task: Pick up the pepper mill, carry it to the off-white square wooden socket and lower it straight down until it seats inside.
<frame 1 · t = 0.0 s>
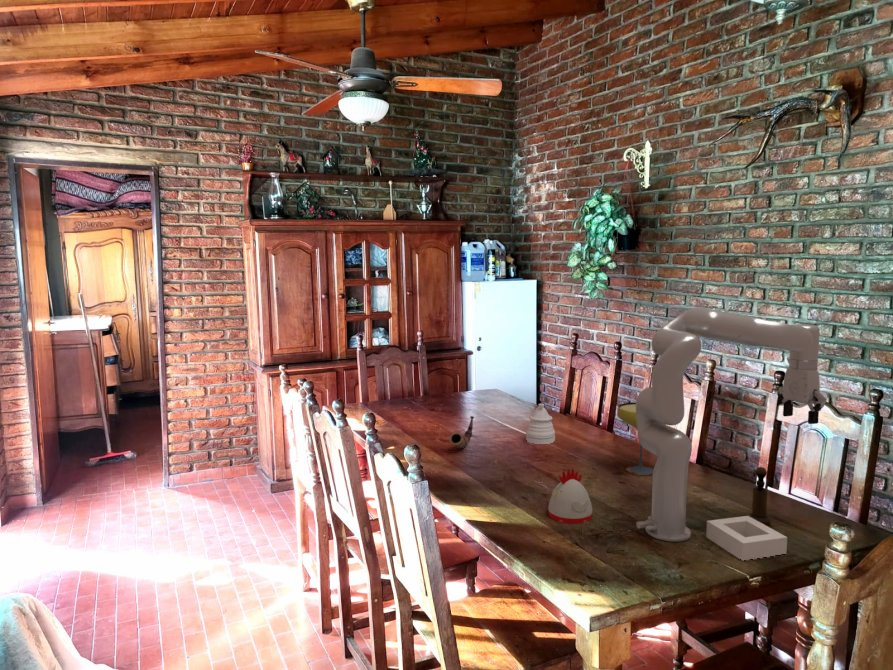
hand: (800, 419, 191), 31 cm above the table, tool pointing down, fingers open, 9 cm apart
cocktail glass: (640, 471, 238), on the table
socket: (744, 545, 175), on the table
pepper mill: (758, 525, 189), on the table
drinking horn: (464, 445, 273), on the table
honey pot: (540, 443, 277), on the table
kitchen timer: (570, 515, 197), on the table
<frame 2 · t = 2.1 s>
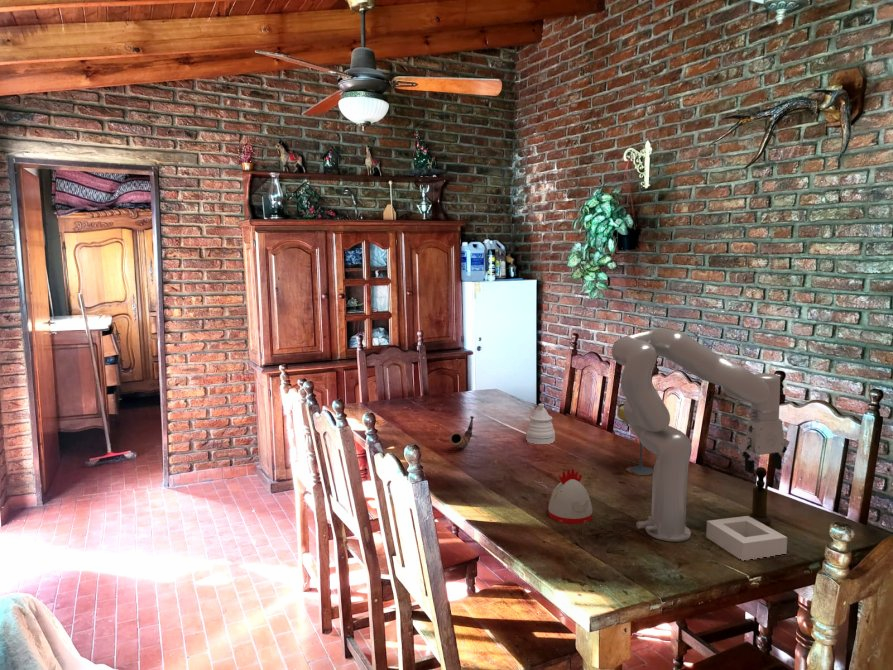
hand: (763, 470, 187), 17 cm above the table, tool pointing down, fingers open, 9 cm apart
nothing on the table moved.
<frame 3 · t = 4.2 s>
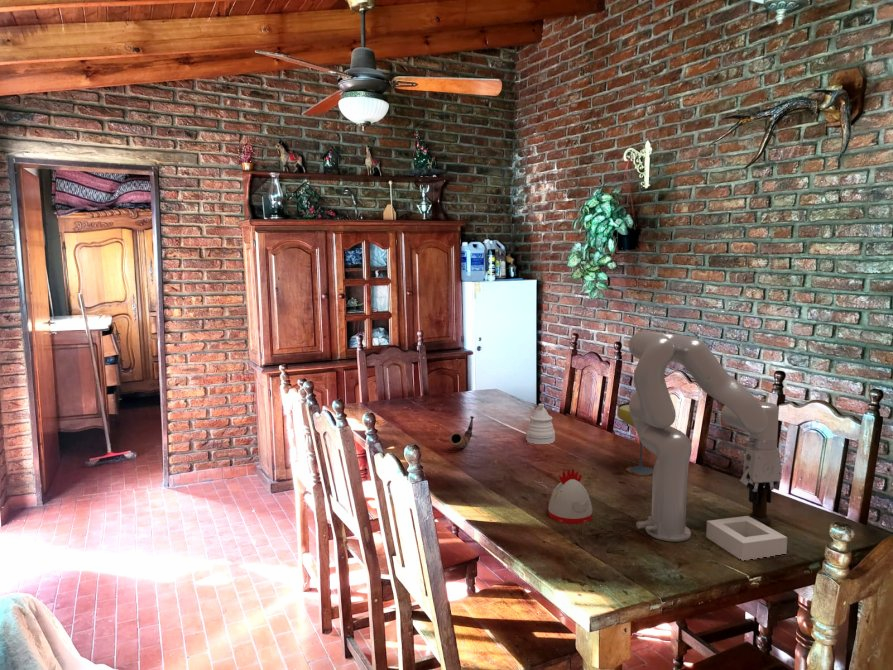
hand: (759, 501, 188), 7 cm above the table, tool pointing down, fingers closed on pepper mill, 3 cm apart
pepper mill: (758, 525, 189), on the table, touching gripper
everything else where it was.
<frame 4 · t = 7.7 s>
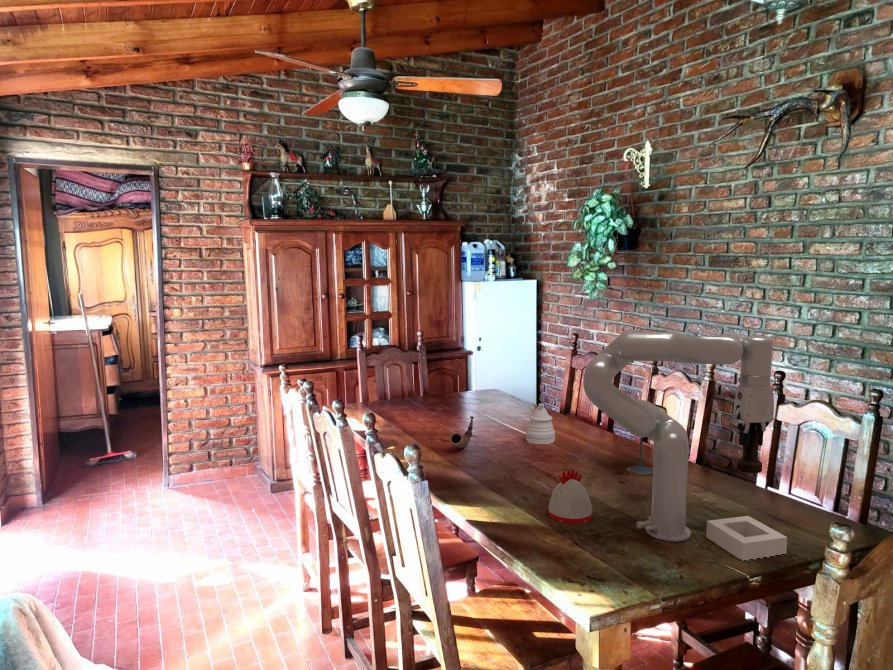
hand: (750, 444, 173), 29 cm above the table, tool pointing down, fingers closed on pepper mill, 3 cm apart
pepper mill: (748, 470, 174), point 21 cm above the table, touching gripper
everything else where it was.
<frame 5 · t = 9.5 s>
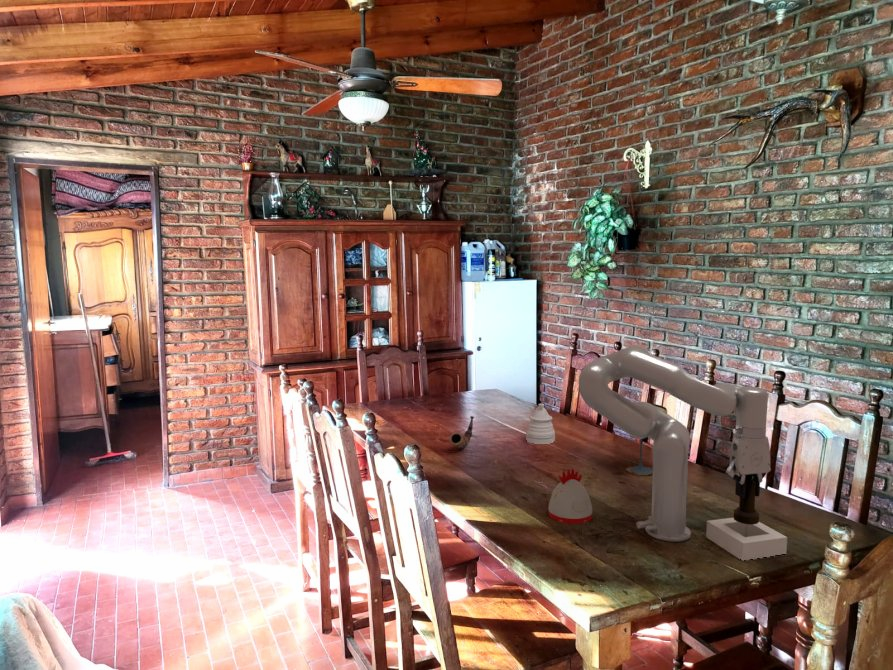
hand: (747, 494, 173), 15 cm above the table, tool pointing down, fingers closed on pepper mill, 3 cm apart
pepper mill: (746, 520, 174), point 7 cm above the table, touching gripper
everything else where it was.
when the fingers open (9 cm above the table, at t = 11.1 s): pepper mill drops 1 cm, resting in socket.
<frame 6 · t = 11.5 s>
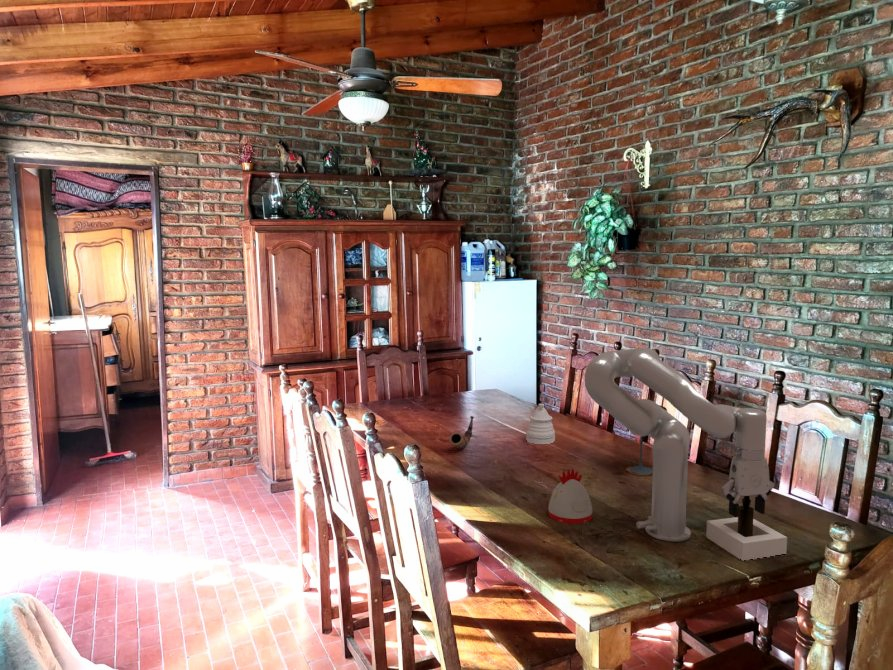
hand: (746, 513, 174), 9 cm above the table, tool pointing down, fingers open, 8 cm apart
pepper mill: (744, 546, 175), resting in socket
everything else where it was.
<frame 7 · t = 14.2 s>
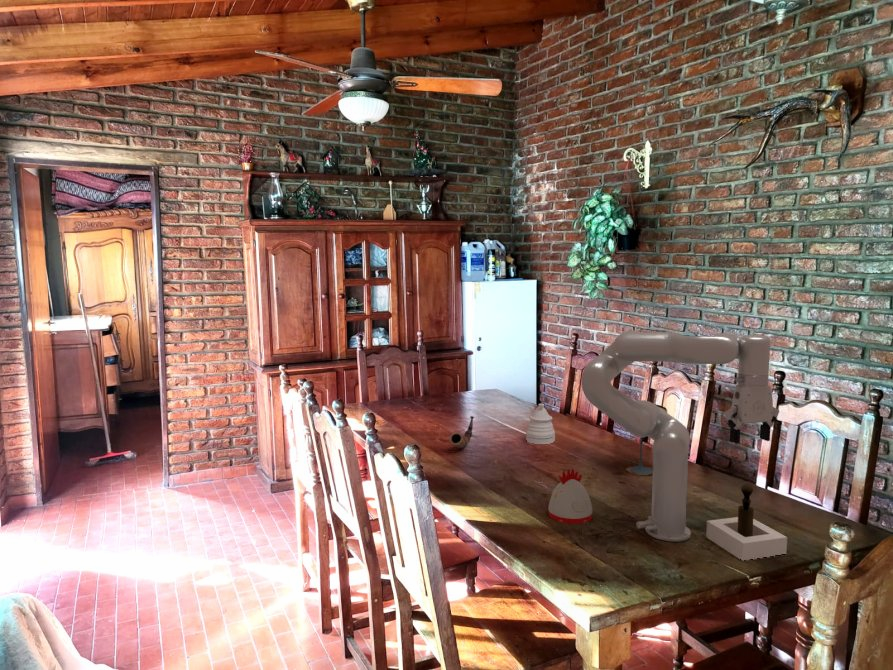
hand: (749, 441, 171), 30 cm above the table, tool pointing down, fingers open, 9 cm apart
nothing on the table moved.
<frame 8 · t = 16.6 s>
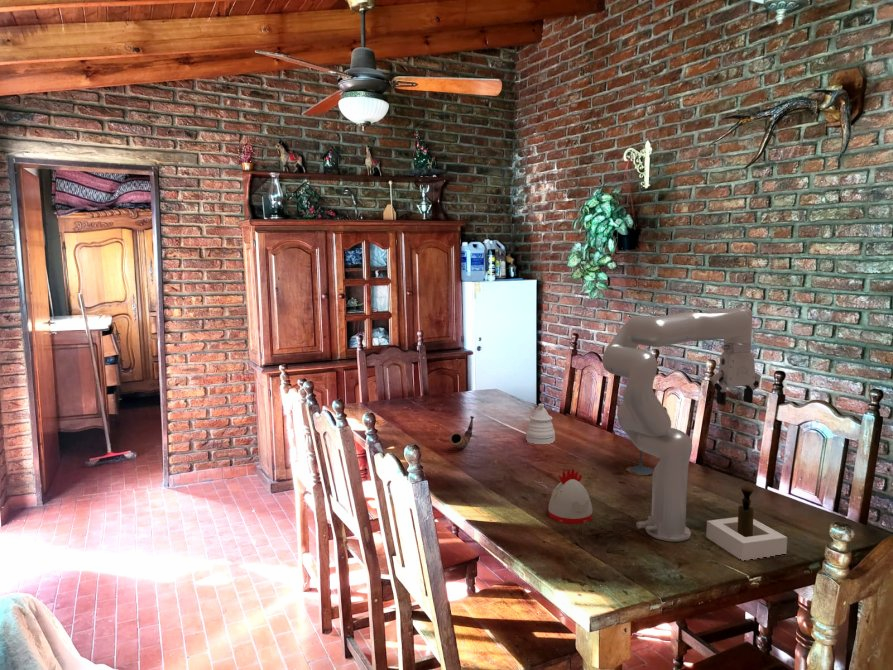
hand: (734, 403, 191), 36 cm above the table, tool pointing down, fingers open, 9 cm apart
nothing on the table moved.
at the end: pepper mill 0.1 cm off-centre on the socket, point 0.0 cm above the socket's base; pepper mill tilted 0°; the gripper is holding nothing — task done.
